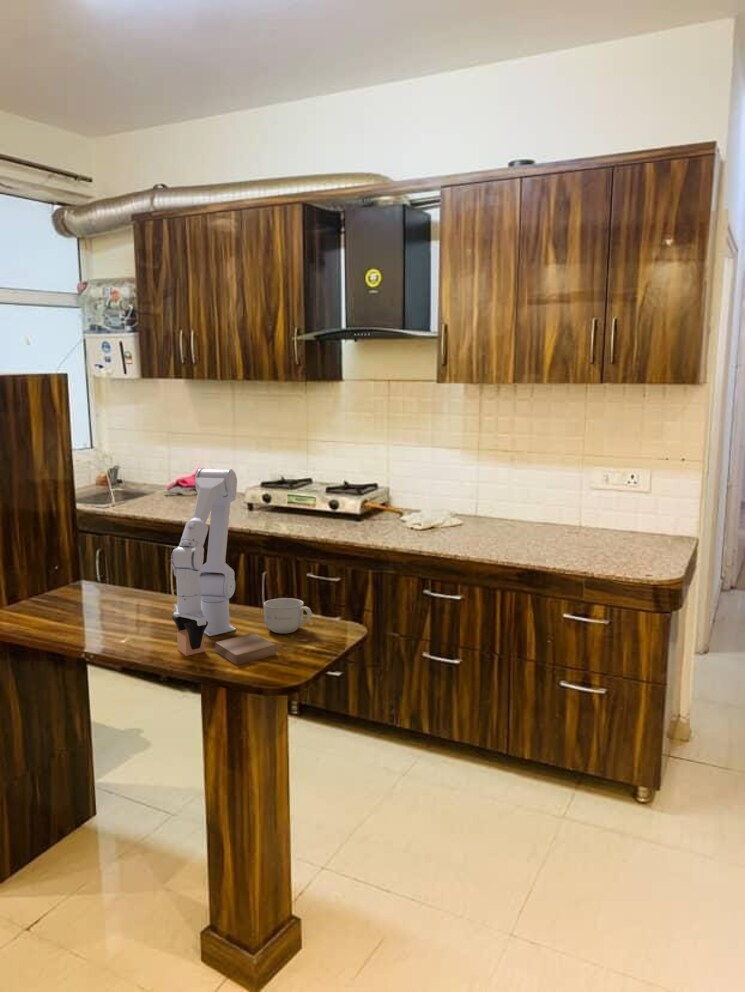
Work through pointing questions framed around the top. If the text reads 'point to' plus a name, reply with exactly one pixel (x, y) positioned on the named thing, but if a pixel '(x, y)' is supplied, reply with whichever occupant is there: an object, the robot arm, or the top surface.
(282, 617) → the teacup
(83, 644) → the top surface
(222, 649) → the walnut slab
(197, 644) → the robot arm
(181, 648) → the terracotta block
